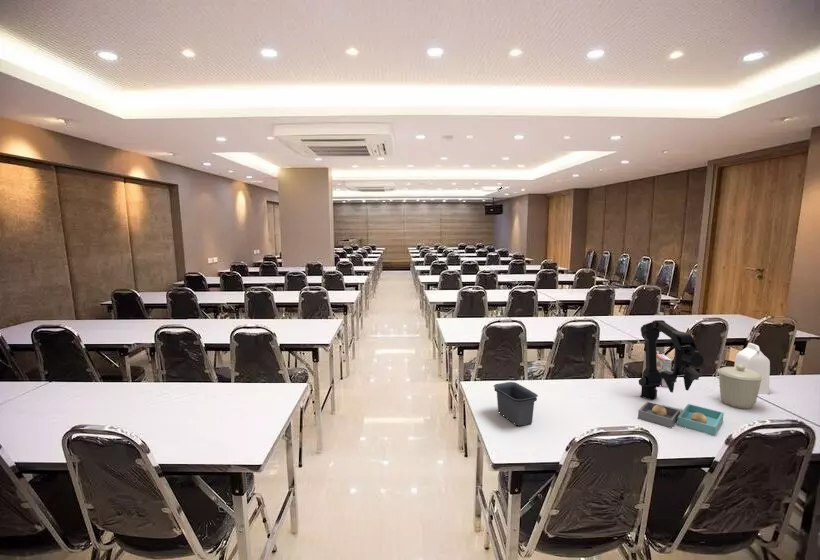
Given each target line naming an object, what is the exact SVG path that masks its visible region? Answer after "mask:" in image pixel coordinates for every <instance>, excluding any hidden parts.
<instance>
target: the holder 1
mask: <svg viewBox="0 0 820 560" xmlns="http://www.w3.org/2000/svg"><path fill="white" fill-rule="evenodd" d="M655 405H661V406H662V405H663V404H658V403H655V402H650V401H646V402H645V403H644V404H643V405H642V406H641V407H640V408H639V409H638V412H637V419H639V420H642V421H646V422H650V423H653V424H656V425H659V426H662V427H666V428H670V429H673V428H672V427H674V426H675V425H676V424H677V422H678V416H679V415H680V410H678V409H679V408H677V409H674V408H675V407H673V408H670V407H671V406H670V407H666V406H667V405H666V406H663V407H664V408H665V409H666V411H667V414H666V416H665V417H663V416H659V415H655V414H653V413H652V408H653V407H654V406H655Z"/></svg>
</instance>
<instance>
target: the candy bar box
mask: <svg viewBox="0 0 820 560" xmlns="http://www.w3.org/2000/svg"><path fill="white" fill-rule="evenodd" d="M656 359H657V370H658V371H659V373H660V372H662V371H670V372H672V371H671V369H673V367H672V365H673V363H672V360H673V359H671V358H670V357H668V356H667V355H666V354H664V353H662V354H661V353H656ZM661 378H662V377H661ZM660 385H661V386H662V387H661V386H660V387H661V388H668V386H667V384H666V382H665V380H664V379H663V378H662V381H661V384H660Z"/></svg>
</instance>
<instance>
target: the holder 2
mask: <svg viewBox="0 0 820 560" xmlns="http://www.w3.org/2000/svg"><path fill="white" fill-rule="evenodd" d="M682 410H683V411H682V412H681V414H680V415H679V416H678V421H677V422H676V424H677V426H679V427H682V428H685V427H686V429H689V430H693V431H696V432H699V433H703V434H707V435H710V436H714V437H716V435H717V434H718V431H719V429H720V427H721V425H722V424H723V421H724V413H725V412H723V411H718V410H716V409H711V408H707V407H702V406H700V405H695V404H690V403H688V404H686V406H685V407H684V409H682ZM696 412H699V413H702V414H704V415H705V417H706V418H707V423H706V424H704V423H700V422H697V421H693V420H691V415H692V414H693V413H696Z"/></svg>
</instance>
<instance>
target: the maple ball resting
mask: <svg viewBox="0 0 820 560" xmlns="http://www.w3.org/2000/svg"><path fill="white" fill-rule="evenodd" d="M691 420H693V421H697V422H700V423H704V424H706V423H707V418H706V417H705V415H704V414H702V413H699V412H696V413H693V414H692V415H691Z"/></svg>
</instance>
